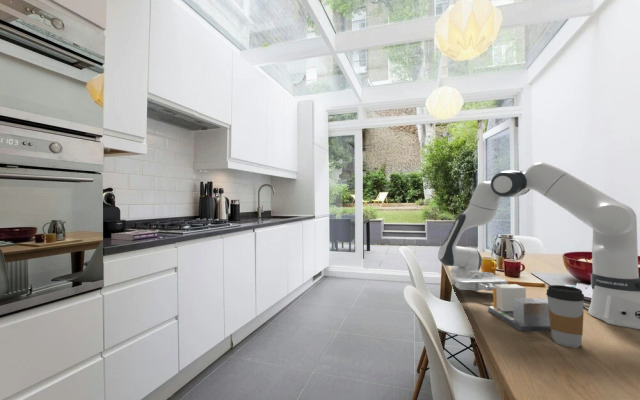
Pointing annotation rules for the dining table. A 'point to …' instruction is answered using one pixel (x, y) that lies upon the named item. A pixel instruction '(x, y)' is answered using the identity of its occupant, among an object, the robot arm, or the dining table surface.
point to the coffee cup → (566, 314)
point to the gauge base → (526, 314)
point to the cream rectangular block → (507, 295)
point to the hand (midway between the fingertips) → (490, 288)
